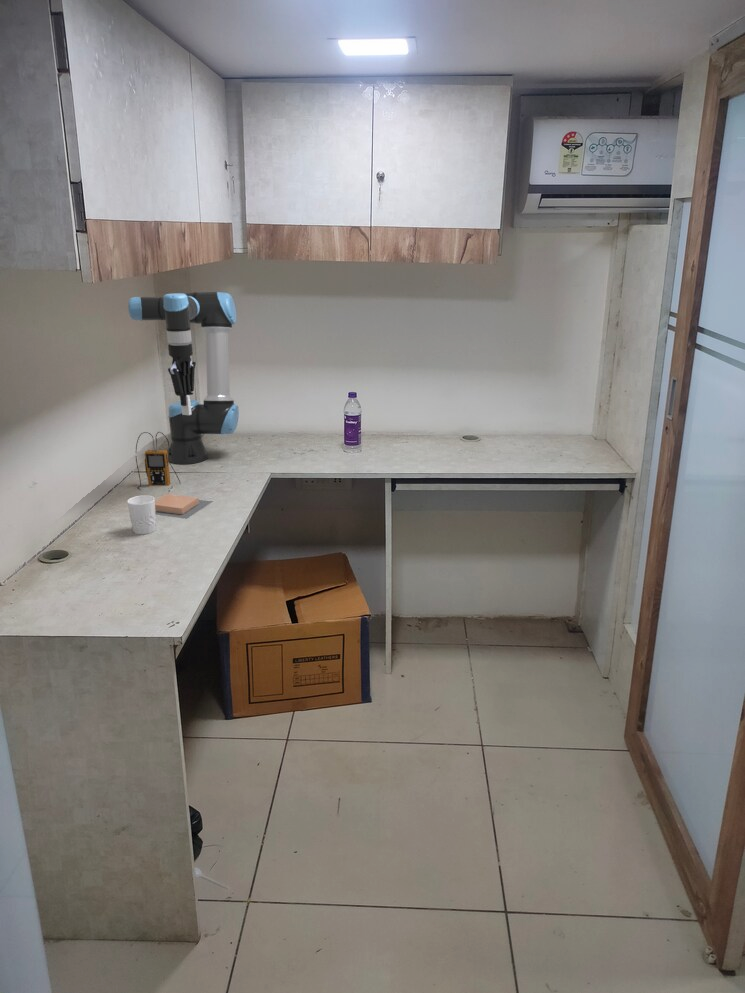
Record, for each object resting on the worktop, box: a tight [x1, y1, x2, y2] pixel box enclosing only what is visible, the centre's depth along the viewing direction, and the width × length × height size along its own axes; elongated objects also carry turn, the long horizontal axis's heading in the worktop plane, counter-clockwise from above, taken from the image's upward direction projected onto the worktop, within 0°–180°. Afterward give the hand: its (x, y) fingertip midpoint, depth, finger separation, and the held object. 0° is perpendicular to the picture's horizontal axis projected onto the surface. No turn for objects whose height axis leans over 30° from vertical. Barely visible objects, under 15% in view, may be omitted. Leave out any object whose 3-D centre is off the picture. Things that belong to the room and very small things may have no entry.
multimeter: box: [135, 431, 181, 491], centre depth 250 cm, size 15×10×20 cm
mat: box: [155, 499, 213, 520], centre depth 236 cm, size 16×18×1 cm
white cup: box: [127, 495, 157, 535], centre depth 217 cm, size 8×8×10 cm
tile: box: [155, 493, 200, 514], centre depth 234 cm, size 2×12×10 cm
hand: (186, 414), depth 239 cm, fingers closed
